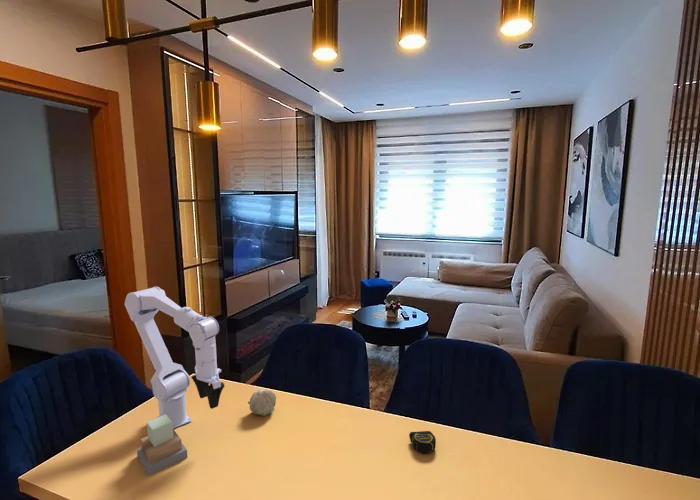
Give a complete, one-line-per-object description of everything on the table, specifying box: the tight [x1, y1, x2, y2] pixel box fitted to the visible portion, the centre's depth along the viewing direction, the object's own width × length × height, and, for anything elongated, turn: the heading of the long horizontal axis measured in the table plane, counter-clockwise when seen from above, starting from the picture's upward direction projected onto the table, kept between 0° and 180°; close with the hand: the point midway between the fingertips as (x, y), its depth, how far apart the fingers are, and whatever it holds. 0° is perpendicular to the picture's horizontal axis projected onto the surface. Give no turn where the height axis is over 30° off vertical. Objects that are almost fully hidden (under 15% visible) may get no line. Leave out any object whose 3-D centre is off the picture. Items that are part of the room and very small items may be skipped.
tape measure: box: [408, 430, 437, 454], centre depth 107 cm, size 7×7×4 cm
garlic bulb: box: [247, 388, 277, 417], centre depth 123 cm, size 9×8×10 cm
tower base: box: [136, 441, 188, 477], centre depth 103 cm, size 10×10×3 cm
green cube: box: [146, 414, 174, 447], centre depth 102 cm, size 5×5×5 cm
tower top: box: [140, 428, 183, 464], centre depth 102 cm, size 8×8×3 cm
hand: (208, 401), depth 111 cm, fingers open, 7 cm apart
